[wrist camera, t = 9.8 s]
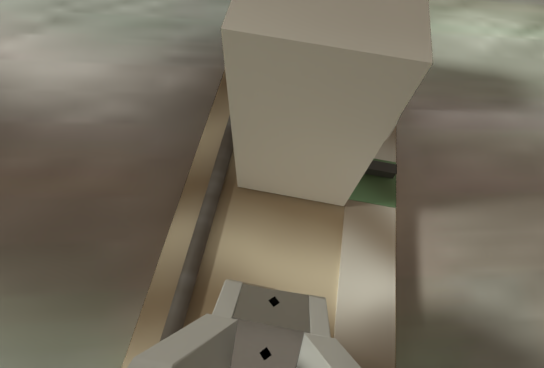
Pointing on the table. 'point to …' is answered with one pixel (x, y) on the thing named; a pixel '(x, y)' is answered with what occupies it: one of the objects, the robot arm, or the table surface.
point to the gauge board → (277, 250)
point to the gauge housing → (320, 89)
